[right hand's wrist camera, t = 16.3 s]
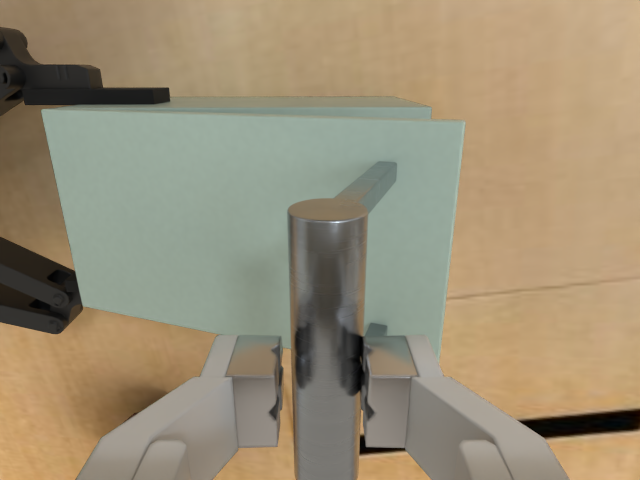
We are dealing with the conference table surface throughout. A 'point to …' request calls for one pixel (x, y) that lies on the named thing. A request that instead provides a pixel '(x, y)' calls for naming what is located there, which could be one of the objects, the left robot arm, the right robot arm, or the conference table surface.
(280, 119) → the lid
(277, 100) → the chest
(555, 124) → the conference table surface
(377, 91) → the conference table surface
